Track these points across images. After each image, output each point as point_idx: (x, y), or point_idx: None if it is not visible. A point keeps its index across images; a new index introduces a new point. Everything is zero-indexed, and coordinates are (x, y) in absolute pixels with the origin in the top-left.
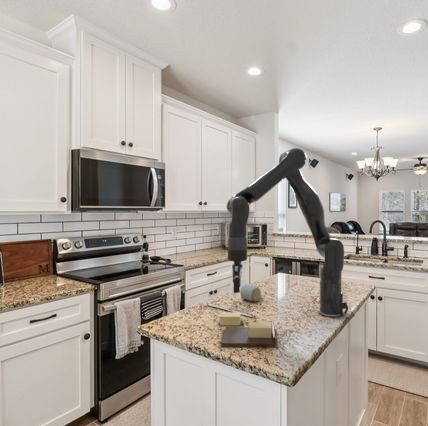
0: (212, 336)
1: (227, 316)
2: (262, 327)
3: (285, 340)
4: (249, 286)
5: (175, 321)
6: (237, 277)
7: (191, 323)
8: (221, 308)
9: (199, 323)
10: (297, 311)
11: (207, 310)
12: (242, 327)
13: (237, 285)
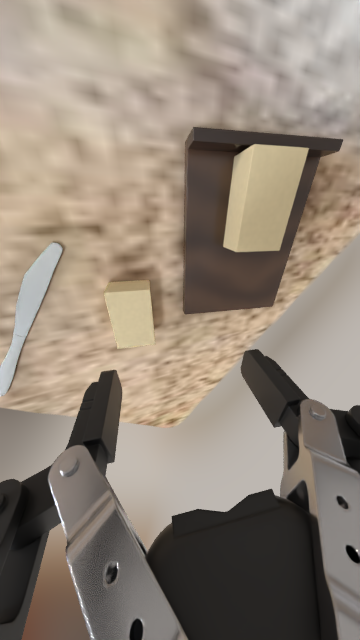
0: (216, 329)
1: (152, 326)
2: (293, 194)
3: (280, 88)
4: None
5: (141, 405)
6: (102, 457)
7: (148, 381)
8: (18, 356)
9: (146, 369)
10: None
11: (48, 381)
12: (189, 270)
13: (296, 391)
